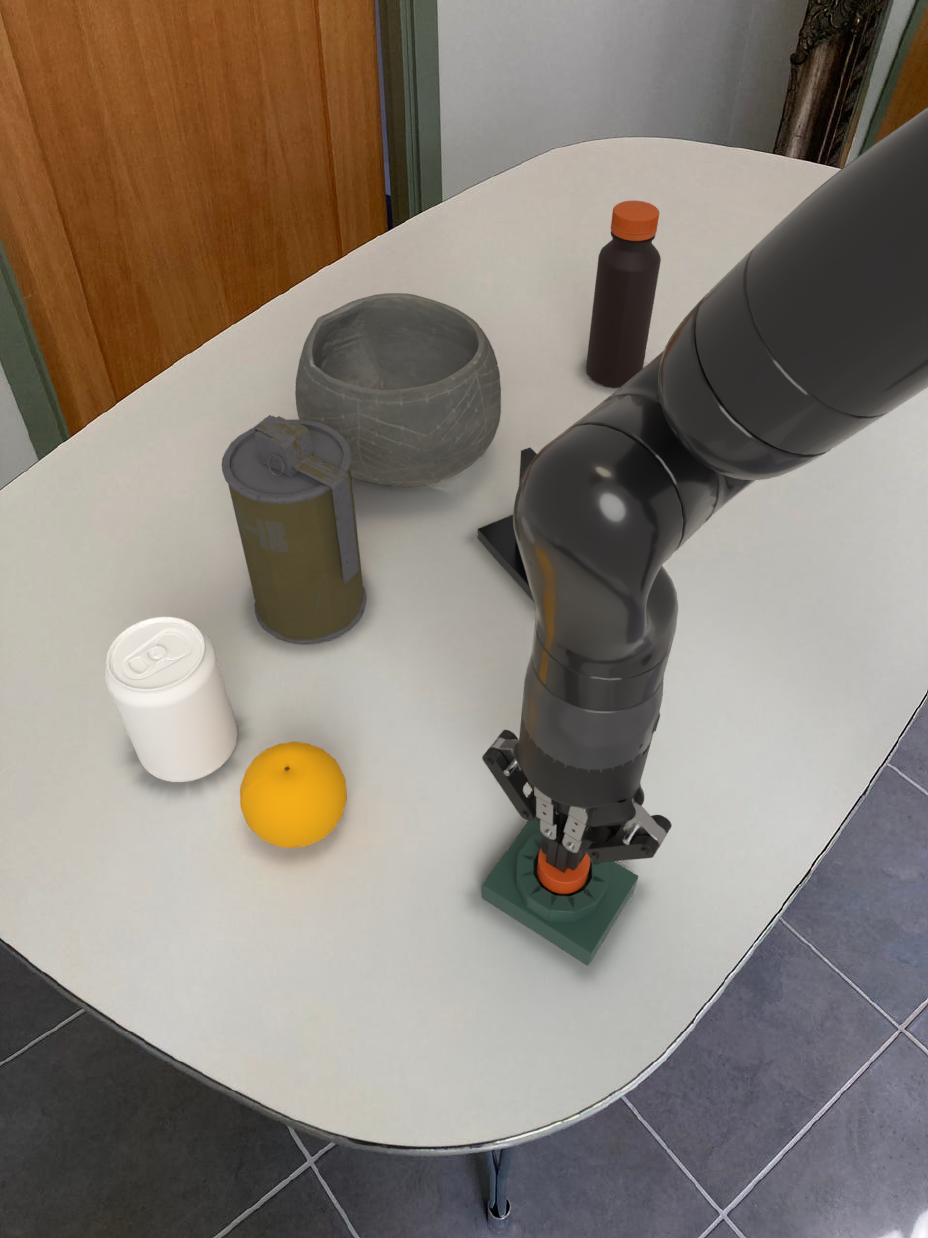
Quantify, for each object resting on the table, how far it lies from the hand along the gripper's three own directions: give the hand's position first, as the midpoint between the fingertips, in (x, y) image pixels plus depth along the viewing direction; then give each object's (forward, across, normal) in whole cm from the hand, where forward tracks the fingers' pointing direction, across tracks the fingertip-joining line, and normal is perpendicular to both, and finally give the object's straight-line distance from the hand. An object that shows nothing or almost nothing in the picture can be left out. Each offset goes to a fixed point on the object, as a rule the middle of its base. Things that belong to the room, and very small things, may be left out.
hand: (562, 858), depth 66 cm
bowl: (+6, -40, +34) cm, 53 cm away
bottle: (+6, -29, +62) cm, 69 cm away
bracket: (+6, -19, +30) cm, 36 cm away
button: (+2, 0, 0) cm, 2 cm away
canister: (+6, -34, +12) cm, 36 cm away
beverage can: (+6, -32, -6) cm, 33 cm away
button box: (+6, 0, 0) cm, 6 cm away
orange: (+6, -20, -6) cm, 22 cm away
